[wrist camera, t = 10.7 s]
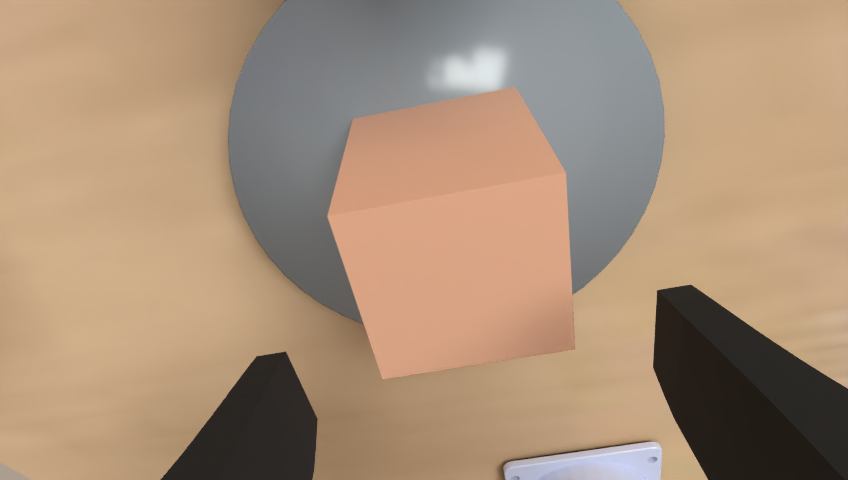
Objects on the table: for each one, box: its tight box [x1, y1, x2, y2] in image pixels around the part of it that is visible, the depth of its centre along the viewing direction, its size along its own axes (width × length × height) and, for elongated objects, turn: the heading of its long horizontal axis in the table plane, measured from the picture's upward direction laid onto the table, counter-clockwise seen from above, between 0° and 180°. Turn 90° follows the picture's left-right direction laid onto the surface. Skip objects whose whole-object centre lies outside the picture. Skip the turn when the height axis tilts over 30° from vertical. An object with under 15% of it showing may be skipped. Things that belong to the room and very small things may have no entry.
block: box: [327, 87, 575, 379], centre depth 15 cm, size 5×5×6 cm
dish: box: [228, 0, 665, 324], centre depth 18 cm, size 14×14×1 cm
